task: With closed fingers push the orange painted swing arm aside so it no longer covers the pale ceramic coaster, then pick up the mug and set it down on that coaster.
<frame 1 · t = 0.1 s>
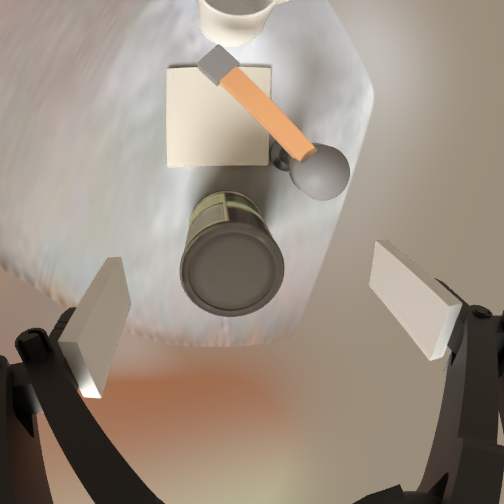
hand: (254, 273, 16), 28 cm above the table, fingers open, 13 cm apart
post: (286, 154, 41), on the table
coaster: (218, 115, 38), on the table
mug: (243, 17, 33), on the table
swing arm: (275, 123, 27), point 13 cm above the table, hinge at 0.0°
coffee can: (225, 226, 44), on the table
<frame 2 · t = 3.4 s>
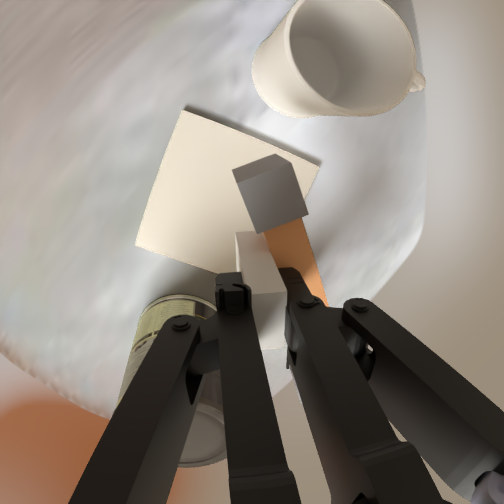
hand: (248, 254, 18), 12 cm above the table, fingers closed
coaster: (224, 203, 29), on the table
mug: (316, 77, 25), on the table
swing arm: (308, 308, 18), point 13 cm above the table, hinge at -1.1°, touching gripper
coffee can: (183, 331, 34), on the table
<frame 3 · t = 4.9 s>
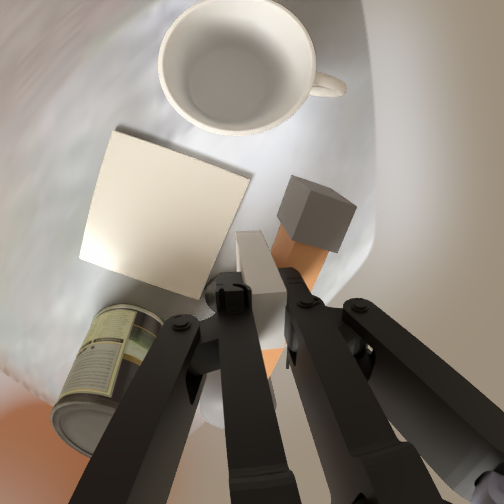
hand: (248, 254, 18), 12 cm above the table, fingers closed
coaster: (157, 218, 29), on the table
mug: (246, 87, 25), on the table
swing arm: (265, 327, 18), point 13 cm above the table, hinge at -39.6°, touching gripper
coffee can: (131, 338, 34), on the table
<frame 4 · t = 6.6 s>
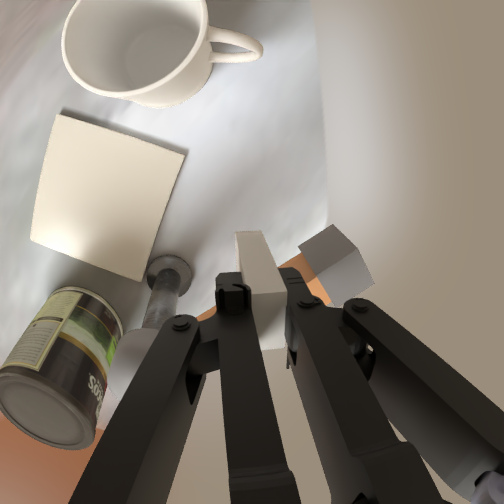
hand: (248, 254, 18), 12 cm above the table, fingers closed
post: (169, 275, 31), on the table
coaster: (97, 198, 27), on the table
mug: (182, 64, 24), on the table
swing arm: (224, 331, 18), point 14 cm above the table, hinge at -78.6°, touching gripper
coffee can: (82, 323, 32), on the table
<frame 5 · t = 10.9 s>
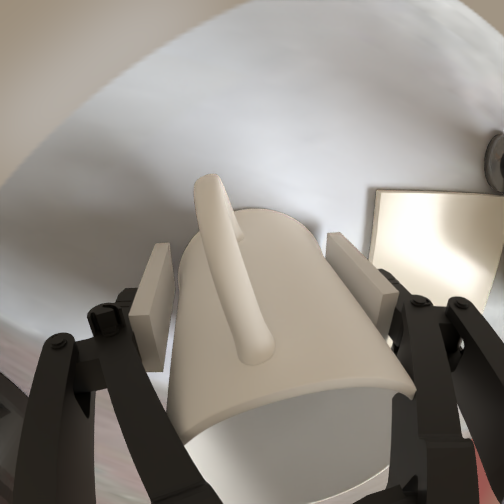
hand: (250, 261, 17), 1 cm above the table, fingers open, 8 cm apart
post: (501, 162, 17), on the table
coaster: (438, 278, 21), on the table
mug: (246, 252, 18), on the table, touching gripper
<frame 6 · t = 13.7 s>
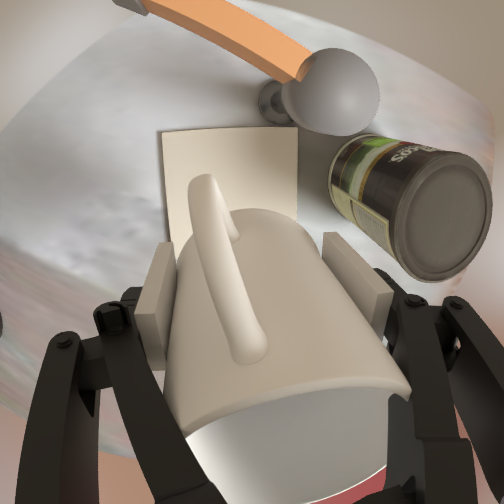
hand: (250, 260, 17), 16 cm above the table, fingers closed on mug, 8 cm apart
post: (281, 102, 29), on the table
coaster: (232, 192, 32), on the table
mug: (242, 252, 18), point 15 cm above the table, touching gripper
swing arm: (242, 35, 15), point 13 cm above the table, hinge at -78.7°
coffee can: (368, 180, 33), on the table
when the fingers open (2 cm above the table, at t = 16.6 s): mug stays where it is, resting on coaster.
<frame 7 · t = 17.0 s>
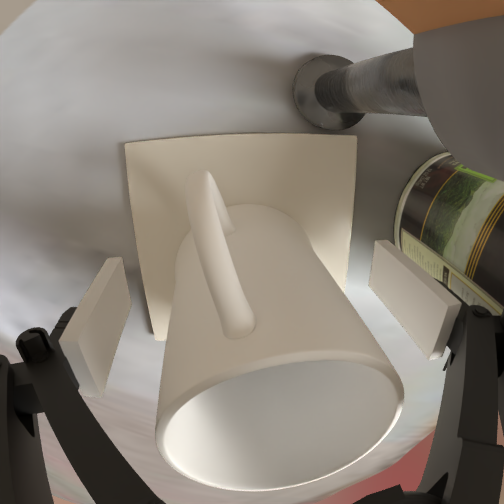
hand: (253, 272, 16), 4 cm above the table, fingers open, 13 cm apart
post: (329, 92, 16), on the table
coaster: (246, 243, 19), on the table
mug: (239, 246, 19), resting on coaster
coffee can: (445, 218, 21), on the table, touching hand
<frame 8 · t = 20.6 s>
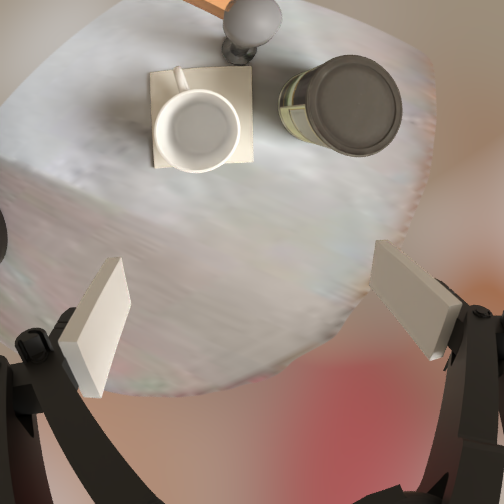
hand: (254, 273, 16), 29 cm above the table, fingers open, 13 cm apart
post: (238, 49, 35), on the table
coaster: (201, 115, 38), on the table
mug: (198, 115, 38), resting on coaster
coffee can: (313, 107, 40), on the table
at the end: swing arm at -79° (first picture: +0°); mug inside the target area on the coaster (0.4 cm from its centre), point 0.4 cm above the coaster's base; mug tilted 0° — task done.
